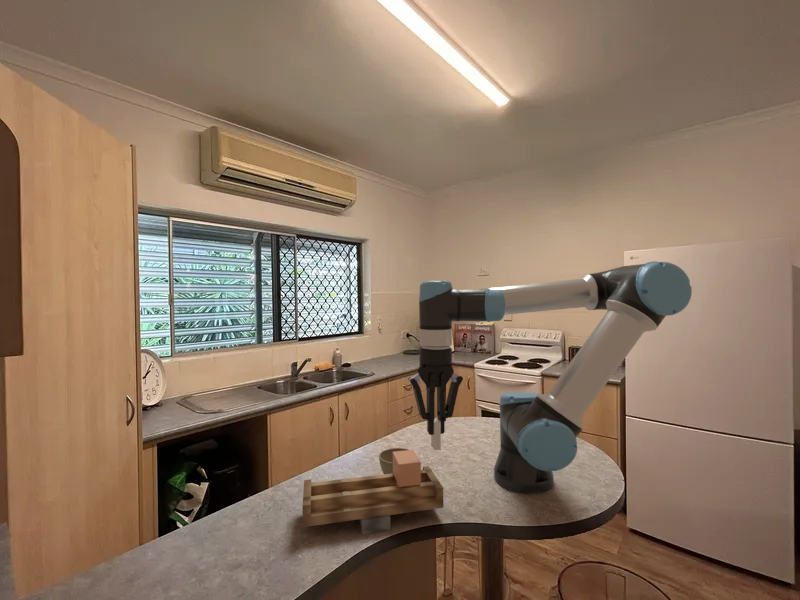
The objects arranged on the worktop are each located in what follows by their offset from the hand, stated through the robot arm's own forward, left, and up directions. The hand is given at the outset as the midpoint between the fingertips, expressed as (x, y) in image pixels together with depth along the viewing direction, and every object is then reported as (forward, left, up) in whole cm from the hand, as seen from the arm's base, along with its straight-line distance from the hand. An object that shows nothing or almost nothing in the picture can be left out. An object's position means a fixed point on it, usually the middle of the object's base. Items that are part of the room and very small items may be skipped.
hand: (435, 447), depth 89 cm
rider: (+6, +4, -9) cm, 11 cm away
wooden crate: (+12, +9, -14) cm, 21 cm away
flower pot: (+13, -8, -14) cm, 21 cm away
